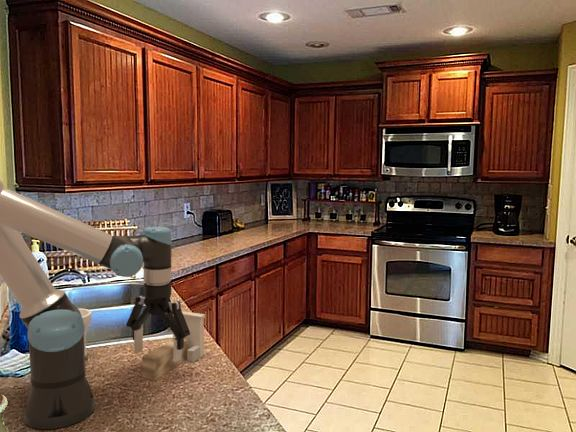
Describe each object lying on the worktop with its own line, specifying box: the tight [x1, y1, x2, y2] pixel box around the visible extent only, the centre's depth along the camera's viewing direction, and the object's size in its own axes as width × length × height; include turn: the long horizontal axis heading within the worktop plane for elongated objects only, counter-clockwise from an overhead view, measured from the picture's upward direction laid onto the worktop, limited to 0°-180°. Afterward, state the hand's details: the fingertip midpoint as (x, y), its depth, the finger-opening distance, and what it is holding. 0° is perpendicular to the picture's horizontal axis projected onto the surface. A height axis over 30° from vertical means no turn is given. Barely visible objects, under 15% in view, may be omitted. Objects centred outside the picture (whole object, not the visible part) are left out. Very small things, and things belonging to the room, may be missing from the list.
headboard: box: [172, 310, 206, 363], centre depth 147 cm, size 6×11×13 cm, turn 67°
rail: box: [141, 339, 188, 381], centre depth 139 cm, size 16×4×6 cm, turn 157°
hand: (157, 355), depth 136 cm, fingers open, 13 cm apart
